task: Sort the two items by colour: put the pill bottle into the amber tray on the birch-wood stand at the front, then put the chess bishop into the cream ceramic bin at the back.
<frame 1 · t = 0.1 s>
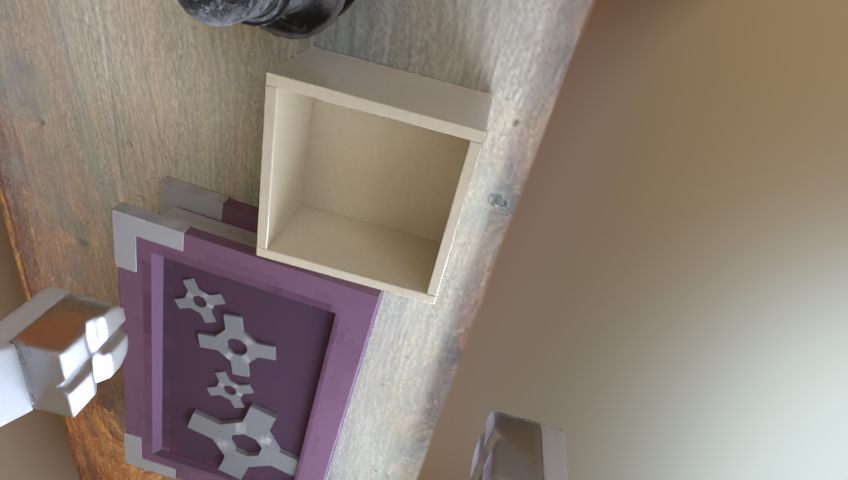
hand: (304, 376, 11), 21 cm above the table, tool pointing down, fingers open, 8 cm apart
cream bin: (385, 154, 31), on the table
book: (260, 345, 41), on the table
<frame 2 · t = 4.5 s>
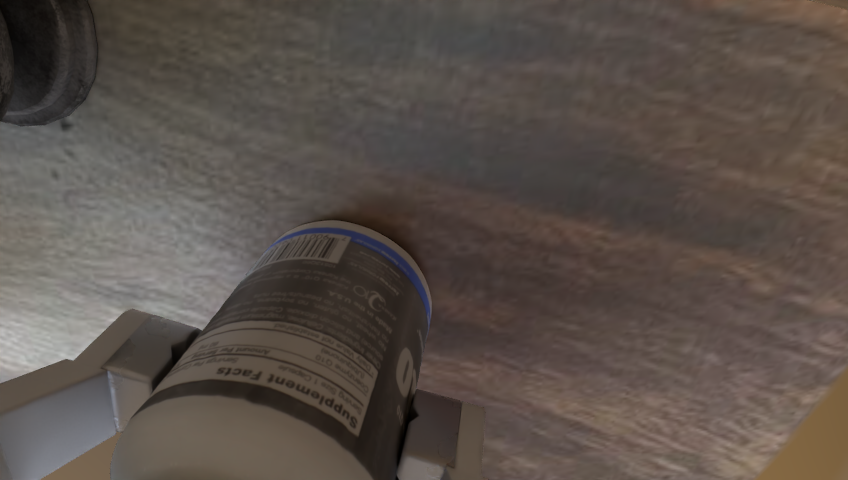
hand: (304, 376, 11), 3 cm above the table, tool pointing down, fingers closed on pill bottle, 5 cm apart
pill bottle: (349, 288, 14), on the table, touching gripper
when the fingers open (14 cm above the table, at t = 9.7 s): pill bottle stays where it is, resting on amber tray.
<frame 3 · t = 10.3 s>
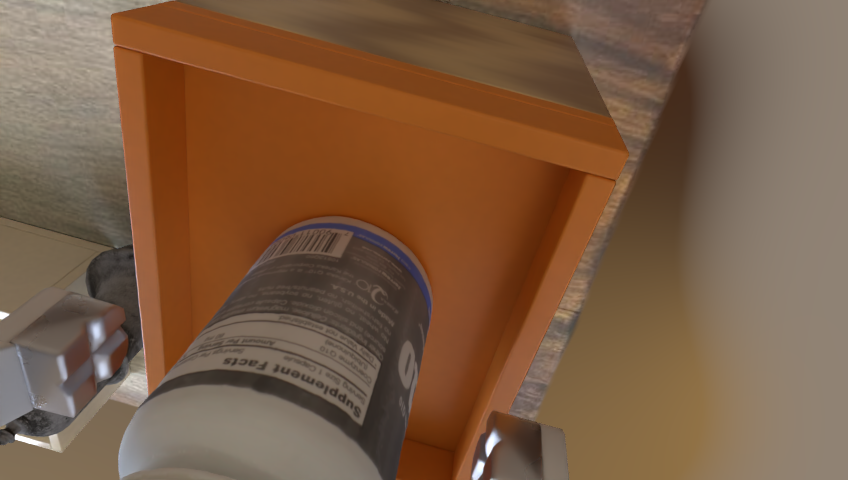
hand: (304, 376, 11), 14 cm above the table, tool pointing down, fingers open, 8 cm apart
amber tray: (352, 273, 15), resting on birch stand
pill bottle: (351, 283, 14), point 10 cm above the table, touching amber tray
chess bishop: (184, 259, 29), on the table
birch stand: (413, 146, 23), on the table
cream bin: (43, 294, 32), on the table
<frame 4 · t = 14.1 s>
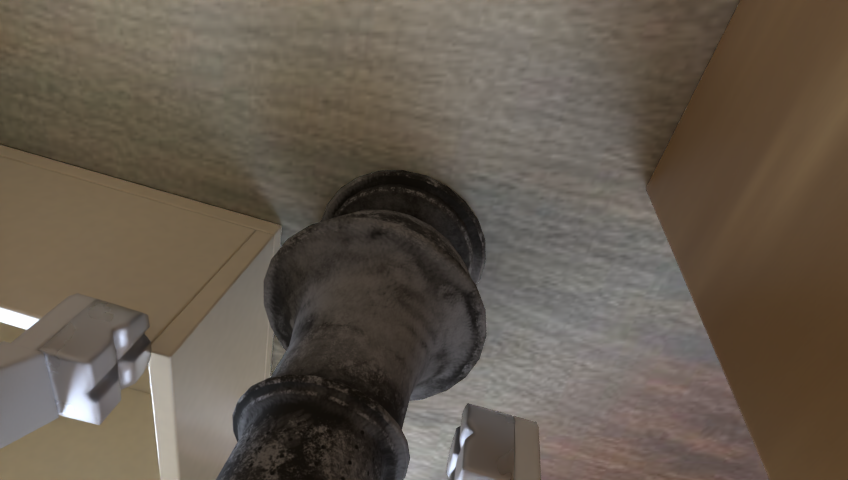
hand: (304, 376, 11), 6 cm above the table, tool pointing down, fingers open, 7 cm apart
chess bishop: (402, 244, 16), on the table
cream bin: (145, 300, 20), on the table
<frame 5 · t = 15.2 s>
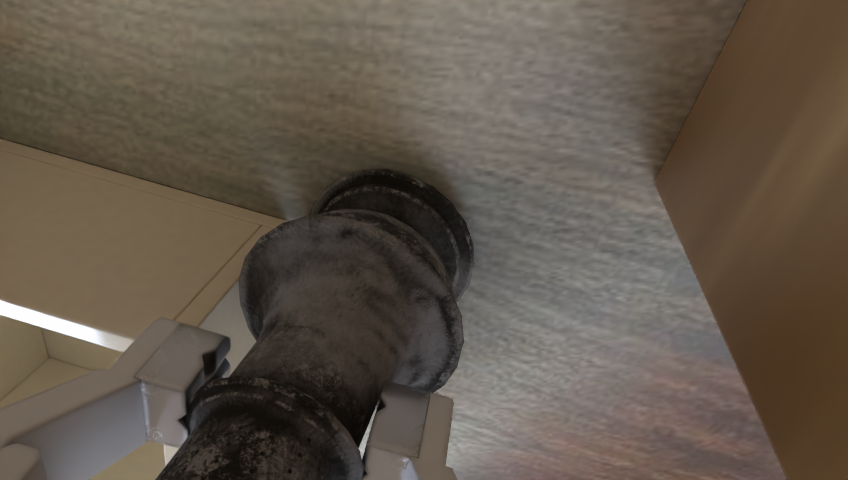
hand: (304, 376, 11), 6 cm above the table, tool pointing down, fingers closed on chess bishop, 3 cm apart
chess bishop: (390, 246, 16), on the table, touching gripper
cream bin: (151, 296, 20), on the table
when the fingers open (6 cm above the table, at t = 22.0 s): chess bishop stays where it is, point 1 cm above the table.
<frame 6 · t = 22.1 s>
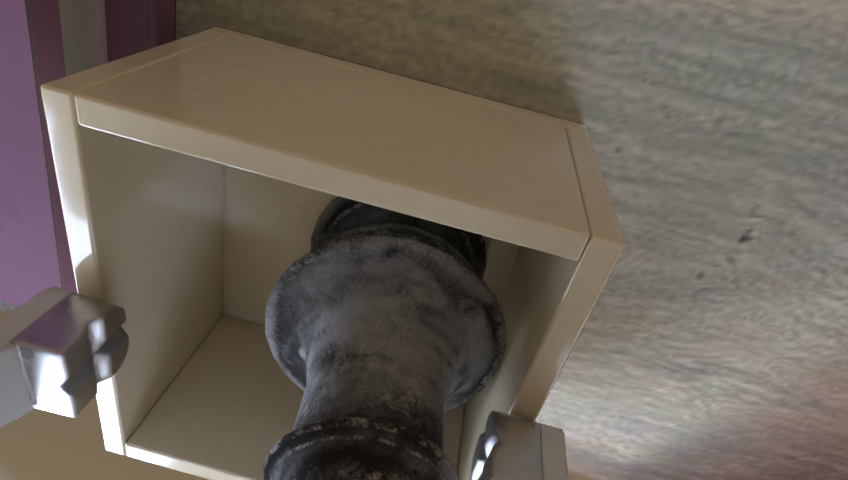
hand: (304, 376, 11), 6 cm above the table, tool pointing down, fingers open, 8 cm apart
chess bishop: (398, 254, 16), point 1 cm above the table
cream bin: (369, 233, 17), on the table
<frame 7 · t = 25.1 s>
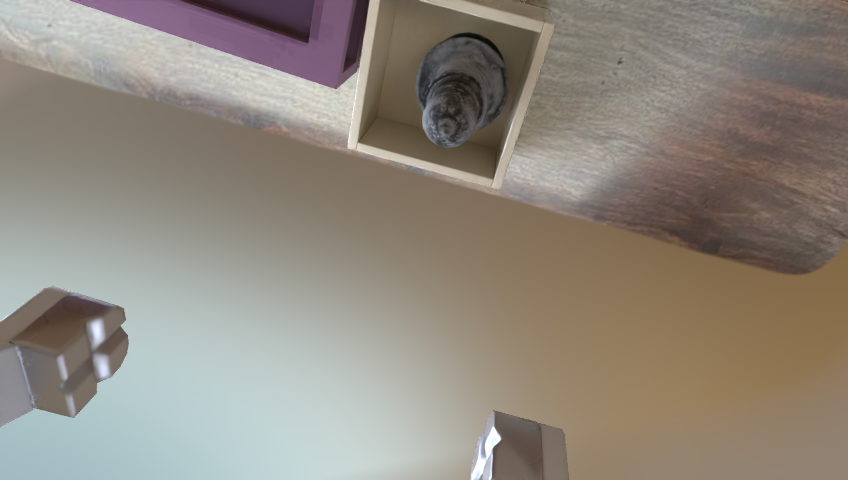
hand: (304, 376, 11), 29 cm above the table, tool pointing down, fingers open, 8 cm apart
chess bishop: (466, 72, 35), resting on cream bin
cream bin: (453, 68, 36), on the table
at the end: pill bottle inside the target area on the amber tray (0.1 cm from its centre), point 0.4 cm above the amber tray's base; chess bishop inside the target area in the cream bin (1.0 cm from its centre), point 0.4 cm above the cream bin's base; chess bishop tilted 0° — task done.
